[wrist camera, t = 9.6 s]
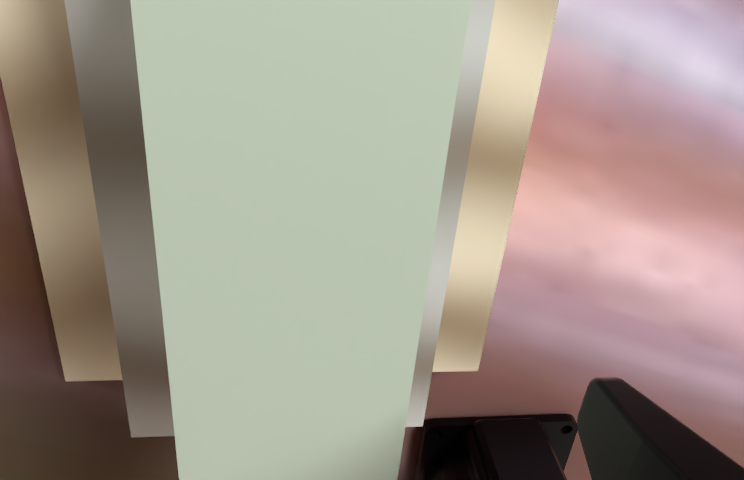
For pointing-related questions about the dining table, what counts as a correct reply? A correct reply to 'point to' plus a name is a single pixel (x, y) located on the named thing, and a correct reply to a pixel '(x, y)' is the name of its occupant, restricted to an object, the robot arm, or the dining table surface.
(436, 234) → the track base
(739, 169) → the dining table surface
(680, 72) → the dining table surface
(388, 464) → the door panel
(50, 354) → the dining table surface
